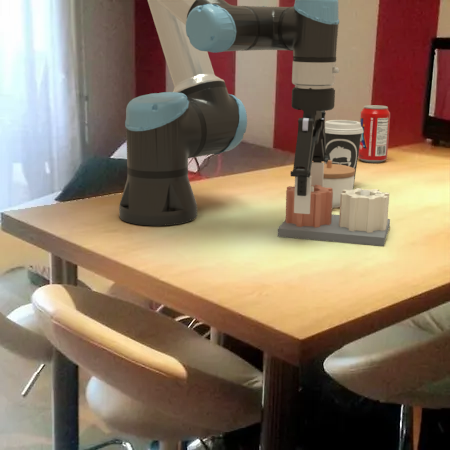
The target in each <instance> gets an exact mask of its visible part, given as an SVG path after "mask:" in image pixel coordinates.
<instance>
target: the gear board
mask: <svg viewBox="0 0 450 450" xmlns="http://www.w3.org/2000/svg"><path fill="white" fill-rule="evenodd" d="M311 192H314V186H311ZM389 204H390V193H389V192H382V191H380V189H375V188H373V189H366V188H361V187H359V188H358V187H355V189H353V190H343V191H342V193H341V197H340V207H339V214H333V213H332V219H331V224H330V225H326V224H325V225H320V227H313V226H302V227H298V226H296V224H293V223H286V222H285V220H286V218H285V219H284V220H283V222H282V223H281V224H280V225H279V226H278V228H277V234H276V235H277V237H279V238H289V239H298V240H301V239H302V240H309V241H310V240H311V241H312V240H313V241H321V242H333V243H334V242H335V243H343V244H357V245H364V246H365V245H367V246H377V247H385V243H386V240H387V236H388V233H389V231H390V224H391V219H390V218H388V217H389Z"/></svg>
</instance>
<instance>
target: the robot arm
mask: <svg viewBox="0 0 450 450" xmlns="http://www.w3.org/2000/svg"><path fill="white" fill-rule="evenodd" d="M147 3H148V6H149V9H150V13H151V16H152V19H153V22H154V23H153V24H154V26H155V28H156V29H155V30H156V32H157V35H158V39H159V42H160V45H161V48H162V52H163V55H164V58H165V62H166V65H167V68H168V72H169V75H170V78H171V80H172V84H173V91H164V92H159V93H157V92H154V93H153V92H152V93H149V94H143V95H139V96H137V97H134V98H132V99H131V100H130V101H129V102H128V103H127V105H126V108H125V120H124V121H125V122H124V126H125V136H126V137H125V138H126V140H125V141H126V164H127V165H126V167H127V169H126V171H127V176H126V182H125V185H124V189H123V193H122V195H121V200H120V202H119V206H118V212H119V219H120V220H122V221H123V222H125V223H129V224H132V225H138V226H139V225H141V226H149V227H150V226H152V227H153V226H154V227H155V226H159V227H160V226H173V225H181V224H184V223H188V222H191V221H193V220H195V219H196V218H197V217H198V203H197V201H196V198H195V195H194V191H193V189H192V186H191V183H190V179H189V159H193V158H198V157H205V156H209V155H215V156H216V155H220V154H223V153H226V152H229V151H232V150H234V149H235V148H237V146H239V145H240V143H242V140H243V139H244V135H245V133H246V132H247V126H248V115H247V110H246V107H245V105H244V103H243V102H242V100H241V99H239V98H238V97H237V96H236V95H233V94H230V93H229V92H228V88H227V84H226V82H225V80H224V79H222V78H220V77H219V76H217V75H216V74H215V72H214V68H213V66H212V61H211V59H210V56H209V53H214V54H215V53H217V54H218V53H222V52H223V53H224V52H235V51H236V52H238V51H240V52H241V51H242V52H243V51H289V52H290V51H292V56H293V57H292V69H291V70H292V71H291V73H292V74H291V83H292V85H294V87H293V88H292V89H291V108H292V109H294V110H297V111H303V113H302V117H299V118H298V120H297V134H296V135H297V136H296V143H295V152H294V160H293V168H292V170H290V177H294V186H295V195H294V213H301V214H310V200H311V185H313V186H315V185H321V187H323V175H324V162H328V156H326V139H325V121H326V115H327V114H326V112H327V111H331V110H333V109H335V99H336V89H335V88H334V87H332V86H334V85H335V84H336V74H339V73H340V68H339V67H338V66H337V67H336V65H337V48H338V46H337V45H338V34H339V24H340V19H339V0H294V4H293V6H265V5H262V6H259V5H256V6H254V5H252V6H250V5H232V4H230V3H228V2H227V1H226V0H147Z"/></svg>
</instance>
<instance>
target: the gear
mask: <svg viewBox="0 0 450 450" xmlns="http://www.w3.org/2000/svg"><path fill="white" fill-rule="evenodd" d="M311 186H313V185H311ZM332 190H333V189H332V188H325V187H321V185H315V186H314V192H311V200H310V214H301V213H294V195H295V185H294V186H291V185H290V186H287V187H286V191H285V193H286V196H285V219H286V220H285V219H284V220H285V222H286V223H293V224H296V226H298V227H302V226H313V227H320V225H325V224H326V225H330V224H331V219H332V214H333V208H332V199H333V192H332Z"/></svg>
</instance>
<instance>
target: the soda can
mask: <svg viewBox="0 0 450 450" xmlns="http://www.w3.org/2000/svg"><path fill="white" fill-rule="evenodd" d="M390 119H391V112H390V111H389V107H388V106H386V105H378V104H377V105H376V104H375V105H373V104H370V105H363V109H362V110H361V111H360V117H359V120H360V121H359V122H360V123H361V127H362V128H363V131H364V132H363V133H361V140H360V146H359V153H358V159H359V160H360V161H362V162H364V163H373V164H376V163H377V164H379V163H383V162H384V161H386V160H387V159H388V151H389V150H388V149H389V136H390V135H389V134H390Z"/></svg>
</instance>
